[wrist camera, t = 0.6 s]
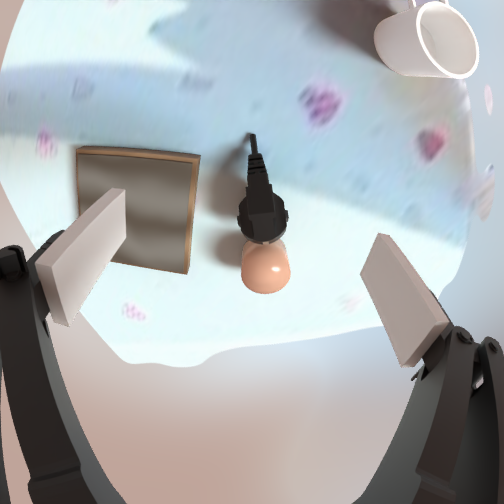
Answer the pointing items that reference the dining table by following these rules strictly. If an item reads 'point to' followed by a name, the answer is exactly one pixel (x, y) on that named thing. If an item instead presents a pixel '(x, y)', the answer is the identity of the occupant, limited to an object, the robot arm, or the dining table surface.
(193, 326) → the dining table surface
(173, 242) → the stand
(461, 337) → the robot arm
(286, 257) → the peach rounded cylinder
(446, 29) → the cup
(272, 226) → the power plug
